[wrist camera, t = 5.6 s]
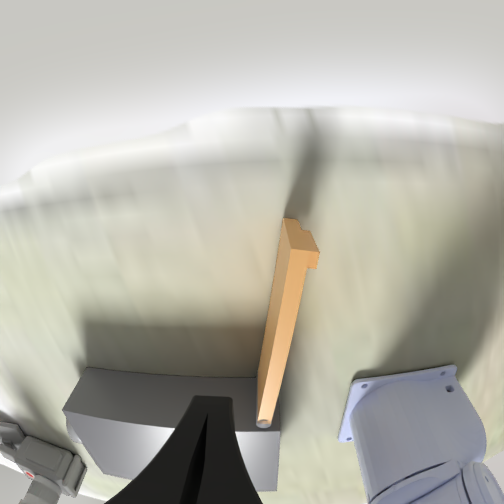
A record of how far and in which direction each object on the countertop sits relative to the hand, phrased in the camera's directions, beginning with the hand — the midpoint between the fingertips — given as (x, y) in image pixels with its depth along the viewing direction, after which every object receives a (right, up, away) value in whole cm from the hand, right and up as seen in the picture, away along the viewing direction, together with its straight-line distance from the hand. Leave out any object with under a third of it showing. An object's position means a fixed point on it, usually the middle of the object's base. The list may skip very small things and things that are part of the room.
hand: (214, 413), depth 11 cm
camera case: (-4, -7, +13) cm, 16 cm away
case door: (+3, +2, +9) cm, 10 cm away
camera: (-27, -19, +19) cm, 38 cm away
